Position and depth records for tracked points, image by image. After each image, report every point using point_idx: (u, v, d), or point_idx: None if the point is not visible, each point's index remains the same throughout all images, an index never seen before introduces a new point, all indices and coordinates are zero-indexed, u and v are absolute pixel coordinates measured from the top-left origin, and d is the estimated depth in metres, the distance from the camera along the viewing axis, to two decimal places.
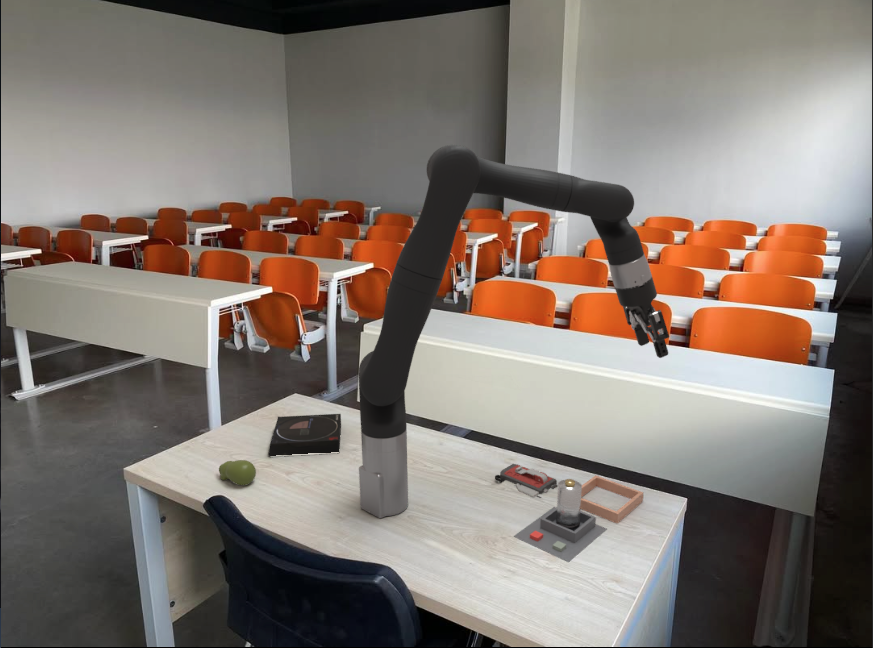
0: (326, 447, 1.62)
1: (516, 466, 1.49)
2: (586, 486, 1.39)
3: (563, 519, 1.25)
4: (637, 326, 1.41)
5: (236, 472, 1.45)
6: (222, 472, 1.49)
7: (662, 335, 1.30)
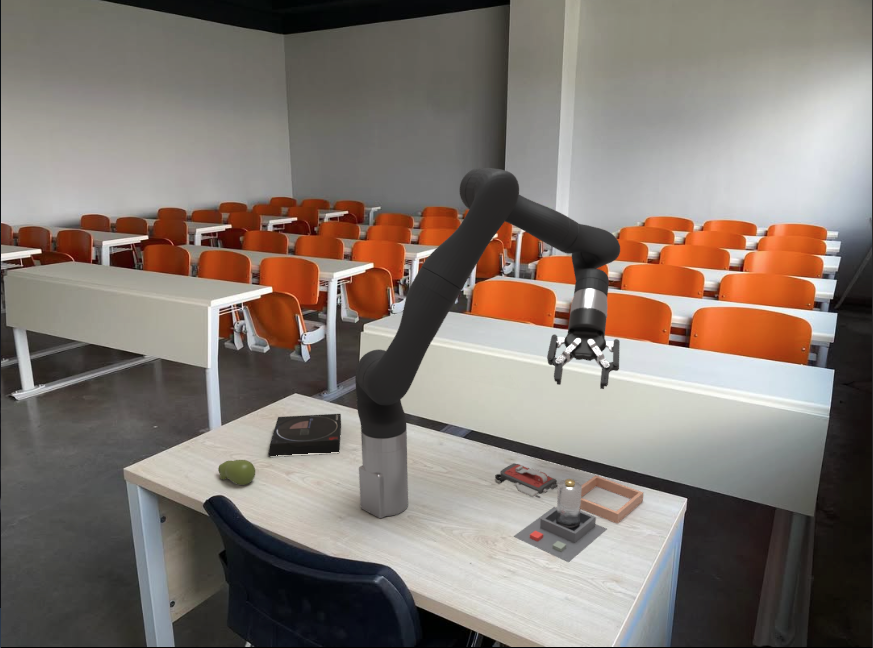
0: (326, 447, 1.62)
1: (517, 466, 1.50)
2: (586, 486, 1.39)
3: (563, 519, 1.25)
4: (561, 362, 1.35)
5: (236, 471, 1.46)
6: (222, 472, 1.49)
7: None
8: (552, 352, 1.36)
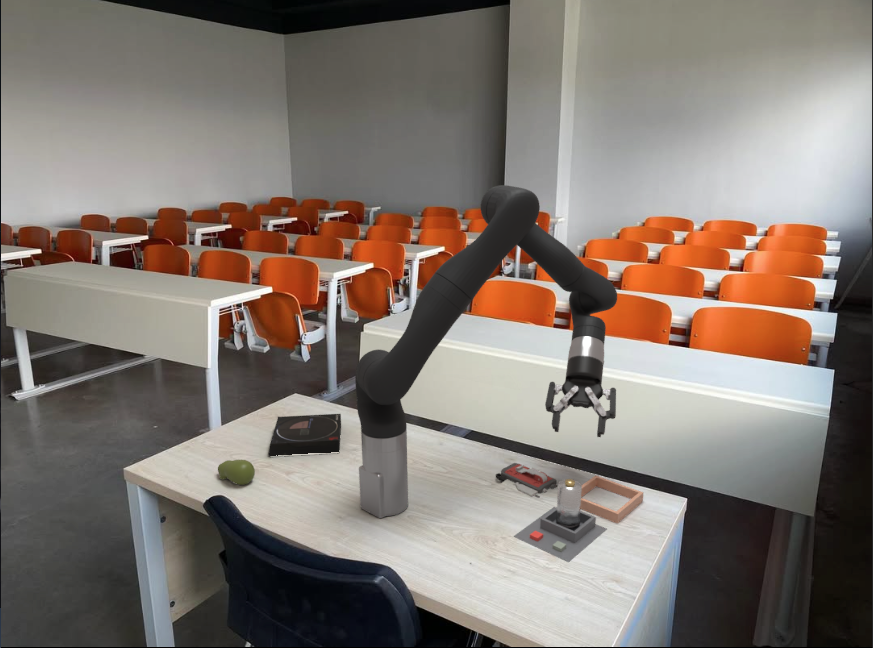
0: (326, 447, 1.62)
1: (517, 465, 1.50)
2: (586, 486, 1.39)
3: (563, 519, 1.25)
4: (559, 410, 1.38)
5: (235, 471, 1.46)
6: (221, 471, 1.49)
7: None
8: (550, 399, 1.38)
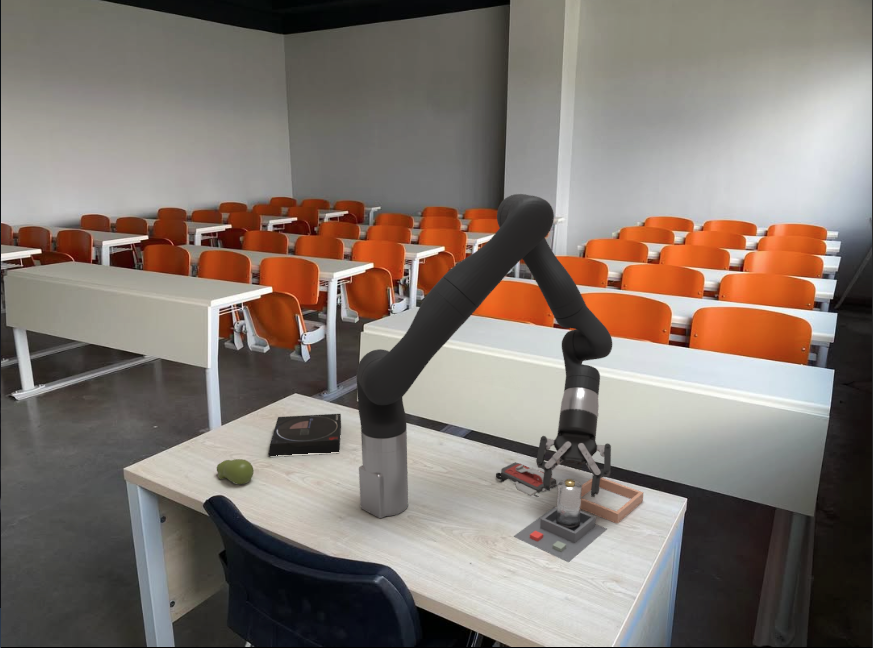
0: (326, 447, 1.62)
1: (518, 465, 1.50)
2: (586, 486, 1.39)
3: (563, 519, 1.25)
4: (551, 467, 1.30)
5: (234, 471, 1.46)
6: (220, 471, 1.49)
7: None
8: (541, 456, 1.31)
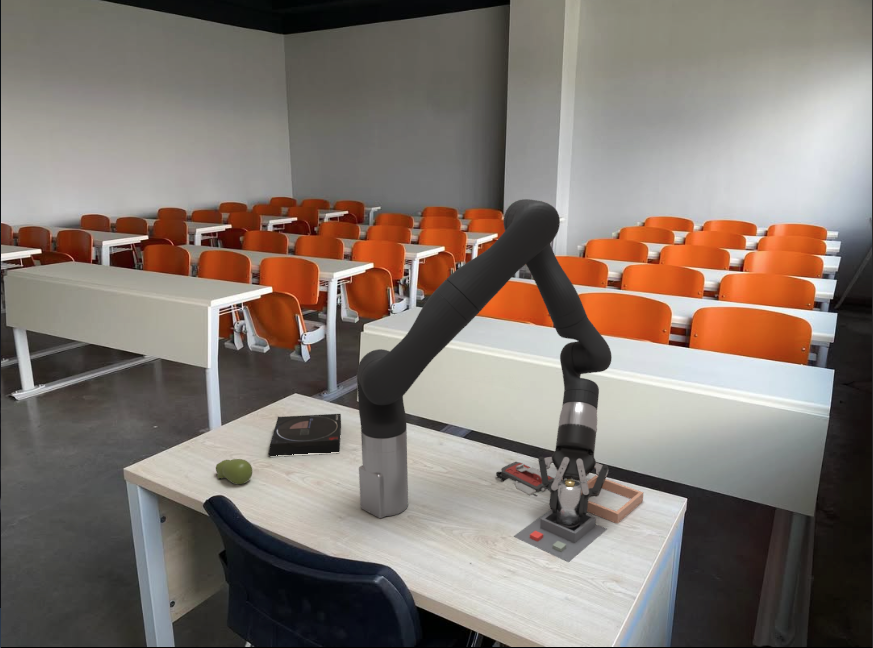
0: (326, 447, 1.62)
1: (518, 464, 1.50)
2: None
3: (563, 519, 1.25)
4: (557, 488, 1.27)
5: (233, 470, 1.46)
6: (219, 471, 1.49)
7: None
8: (545, 476, 1.28)
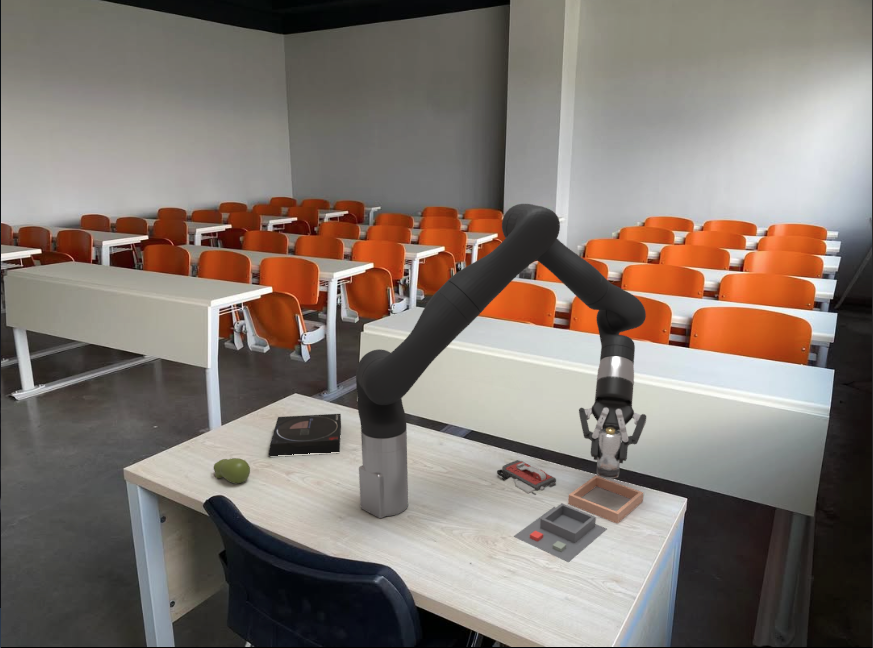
0: (326, 447, 1.62)
1: (519, 462, 1.51)
2: (586, 486, 1.39)
3: (604, 465, 1.32)
4: (598, 437, 1.34)
5: (230, 470, 1.46)
6: (217, 470, 1.50)
7: None
8: (586, 426, 1.35)
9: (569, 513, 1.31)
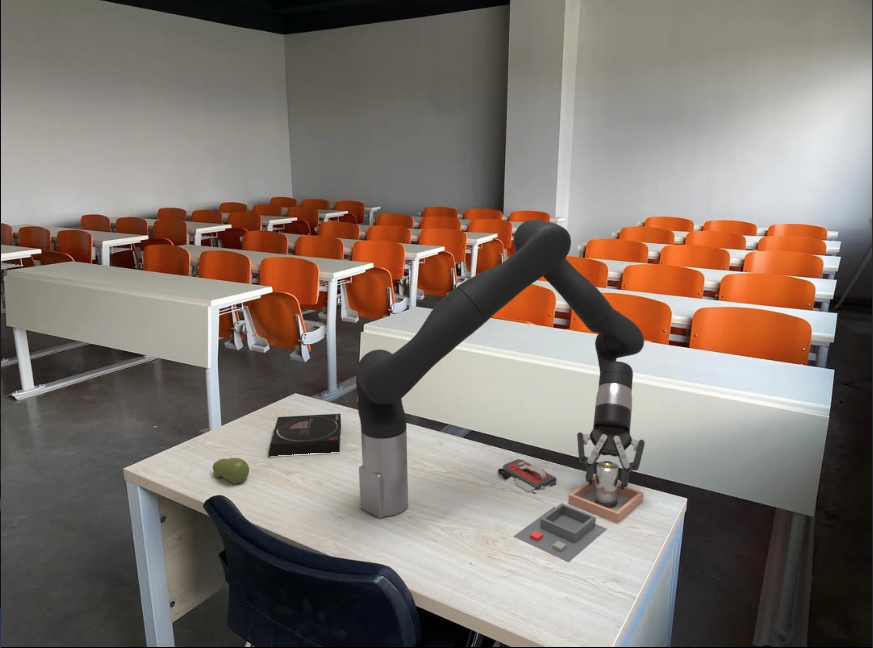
0: (326, 447, 1.62)
1: (520, 461, 1.51)
2: (586, 486, 1.39)
3: (602, 498, 1.34)
4: (593, 462, 1.36)
5: (229, 469, 1.46)
6: (216, 470, 1.50)
7: None
8: (582, 451, 1.37)
9: (569, 513, 1.31)
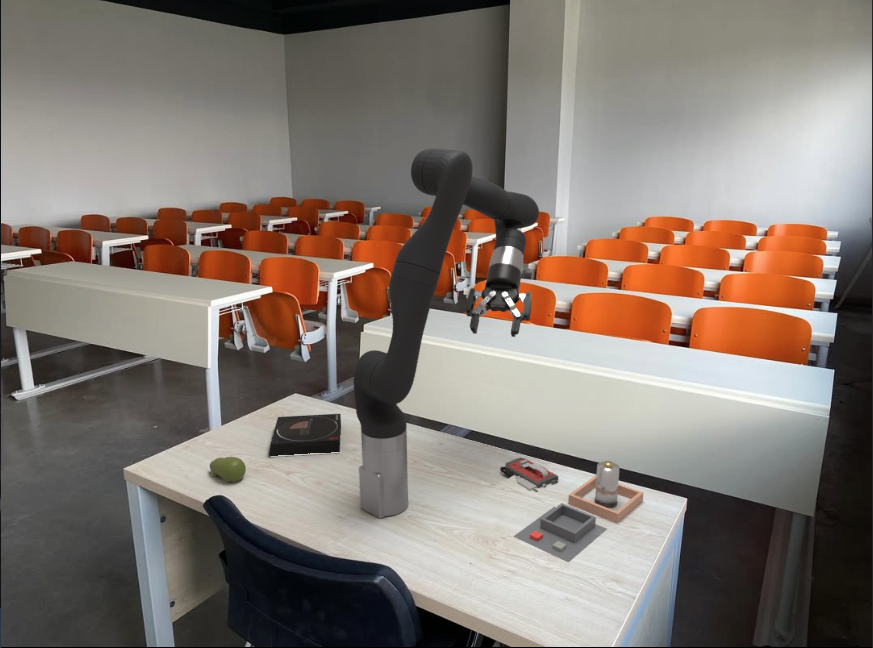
0: (326, 447, 1.62)
1: (522, 460, 1.52)
2: (586, 486, 1.39)
3: (602, 498, 1.34)
4: (478, 313, 1.45)
5: (226, 468, 1.47)
6: (212, 468, 1.51)
7: None
8: (469, 304, 1.46)
9: (569, 513, 1.31)
